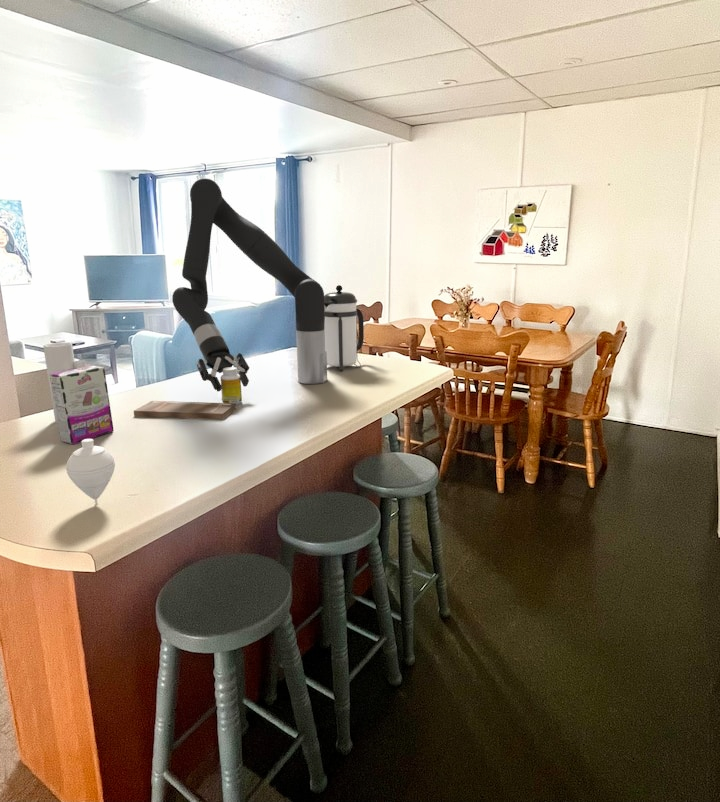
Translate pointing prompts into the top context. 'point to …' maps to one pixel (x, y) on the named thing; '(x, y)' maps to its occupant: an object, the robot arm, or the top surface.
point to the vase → (60, 362)
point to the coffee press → (342, 328)
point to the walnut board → (185, 410)
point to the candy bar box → (81, 403)
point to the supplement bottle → (231, 386)
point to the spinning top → (91, 468)
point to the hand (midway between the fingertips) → (233, 387)
